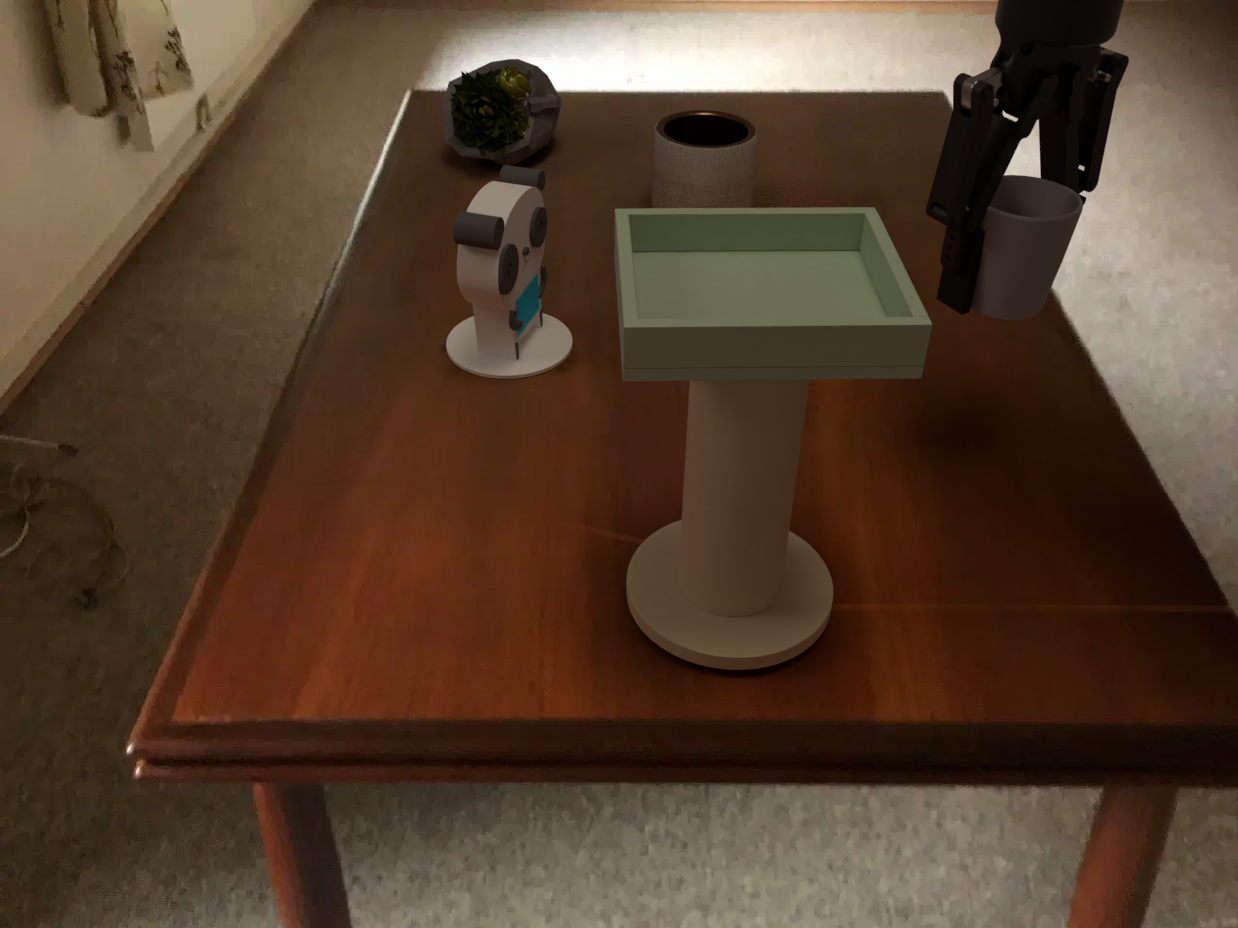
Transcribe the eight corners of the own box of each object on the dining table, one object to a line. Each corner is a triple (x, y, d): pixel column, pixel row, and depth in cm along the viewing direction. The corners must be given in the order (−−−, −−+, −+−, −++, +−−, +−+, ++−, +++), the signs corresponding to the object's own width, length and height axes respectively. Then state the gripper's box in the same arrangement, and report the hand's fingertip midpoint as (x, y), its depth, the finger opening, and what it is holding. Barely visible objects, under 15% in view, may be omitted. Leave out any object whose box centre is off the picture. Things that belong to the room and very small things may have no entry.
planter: (703, 184, 131) (708, 101, 125) (771, 216, 124) (780, 131, 118) (630, 209, 125) (632, 124, 119) (697, 245, 119) (703, 157, 113)
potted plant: (584, 116, 138) (559, 128, 124) (505, 181, 142) (472, 200, 128) (522, 32, 135) (489, 34, 121) (443, 100, 140) (403, 110, 126)
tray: (823, 524, 84) (874, 205, 68) (862, 668, 73) (934, 326, 57) (611, 527, 83) (614, 206, 68) (618, 672, 72) (624, 329, 57)
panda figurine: (543, 393, 97) (538, 231, 88) (422, 369, 100) (404, 210, 90) (589, 323, 106) (588, 171, 97) (476, 304, 109) (465, 153, 99)
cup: (963, 329, 82) (987, 219, 76) (930, 265, 90) (950, 161, 84) (1069, 329, 82) (1100, 219, 77) (1027, 265, 90) (1052, 161, 85)
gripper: (1130, -61, 78) (1049, 246, 92) (905, -27, 70) (854, 302, 84) (1223, -36, 73) (1122, 285, 87) (992, 4, 65) (922, 349, 79)
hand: (990, 293), depth 85 cm, fingers closed on cup, 7 cm apart
